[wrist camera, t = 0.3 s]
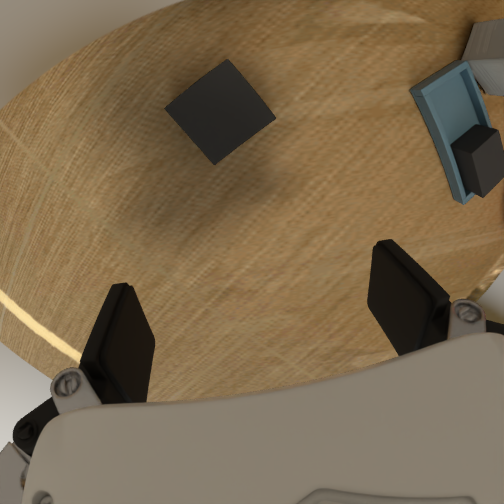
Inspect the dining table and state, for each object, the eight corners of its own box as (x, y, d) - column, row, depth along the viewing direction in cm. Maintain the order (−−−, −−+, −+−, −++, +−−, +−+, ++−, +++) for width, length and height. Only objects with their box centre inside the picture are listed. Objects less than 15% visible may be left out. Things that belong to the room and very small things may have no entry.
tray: (409, 89, 24) (420, 89, 22) (455, 60, 22) (467, 60, 20) (453, 199, 30) (463, 205, 28) (492, 164, 28) (502, 168, 26)
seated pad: (448, 145, 26) (471, 153, 23) (475, 123, 25) (498, 129, 22) (461, 187, 29) (482, 198, 25) (487, 163, 28) (508, 172, 24)
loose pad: (171, 108, 23) (163, 108, 19) (226, 65, 22) (227, 58, 18) (214, 157, 25) (214, 165, 22) (268, 116, 24) (276, 118, 21)
